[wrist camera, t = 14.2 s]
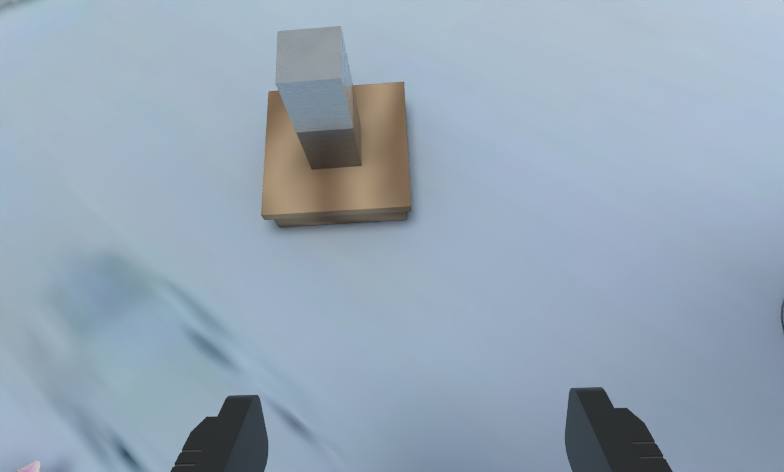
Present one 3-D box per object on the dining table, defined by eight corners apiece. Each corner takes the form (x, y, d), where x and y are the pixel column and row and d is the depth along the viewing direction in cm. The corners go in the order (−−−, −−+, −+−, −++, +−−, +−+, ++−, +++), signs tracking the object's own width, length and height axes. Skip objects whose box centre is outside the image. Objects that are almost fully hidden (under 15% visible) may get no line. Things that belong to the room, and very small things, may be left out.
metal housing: (360, 123, 47) (340, 26, 36) (361, 166, 46) (341, 78, 35) (312, 126, 48) (277, 31, 36) (311, 169, 46) (275, 83, 35)
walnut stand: (405, 107, 52) (404, 81, 49) (412, 224, 48) (411, 206, 44) (279, 115, 53) (268, 91, 49) (273, 232, 48) (261, 215, 45)
